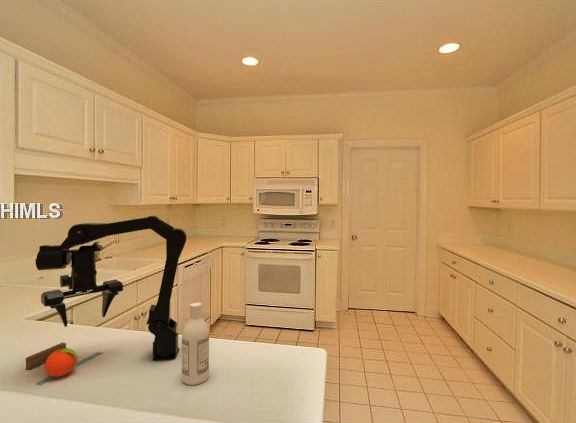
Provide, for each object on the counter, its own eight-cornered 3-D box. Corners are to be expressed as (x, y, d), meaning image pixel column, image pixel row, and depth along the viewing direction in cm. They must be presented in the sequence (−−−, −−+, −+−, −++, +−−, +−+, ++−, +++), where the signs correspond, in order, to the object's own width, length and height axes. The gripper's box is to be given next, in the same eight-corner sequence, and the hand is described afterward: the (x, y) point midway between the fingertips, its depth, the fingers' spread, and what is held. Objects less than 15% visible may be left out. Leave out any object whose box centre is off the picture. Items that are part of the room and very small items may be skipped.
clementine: (85, 368, 84) (87, 343, 84) (68, 383, 77) (70, 356, 77) (57, 366, 84) (58, 341, 84) (37, 381, 77) (38, 354, 77)
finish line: (102, 353, 93) (102, 352, 93) (40, 386, 76) (40, 385, 76) (97, 352, 94) (97, 351, 94) (34, 384, 76) (34, 383, 76)
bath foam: (210, 370, 84) (211, 299, 83) (206, 385, 77) (206, 308, 76) (185, 371, 83) (185, 300, 83) (178, 386, 76) (179, 308, 76)
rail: (66, 354, 92) (66, 343, 92) (29, 371, 83) (29, 358, 83) (62, 353, 93) (62, 342, 93) (25, 370, 83) (25, 357, 83)
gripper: (110, 259, 97) (111, 306, 97) (36, 269, 83) (38, 324, 84) (123, 263, 90) (124, 314, 90) (44, 274, 76) (46, 335, 76)
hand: (85, 321), depth 85 cm, fingers open, 9 cm apart
